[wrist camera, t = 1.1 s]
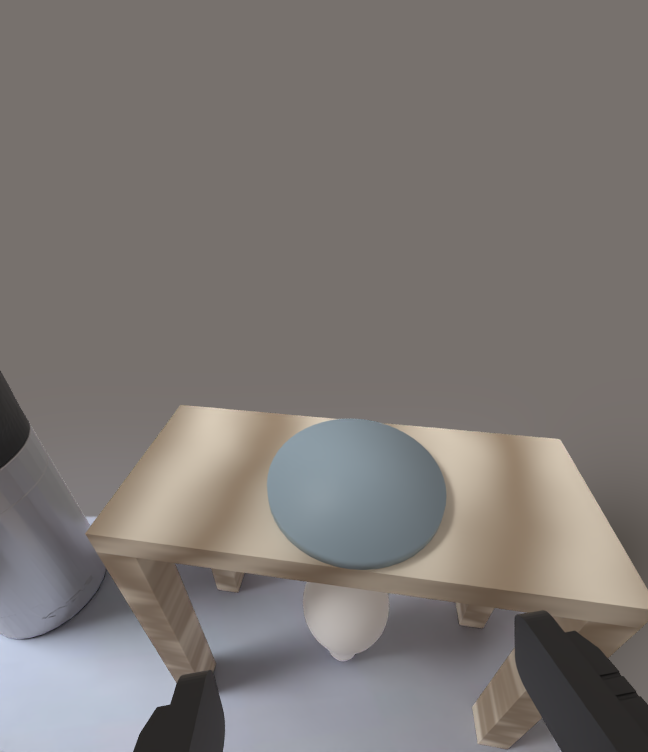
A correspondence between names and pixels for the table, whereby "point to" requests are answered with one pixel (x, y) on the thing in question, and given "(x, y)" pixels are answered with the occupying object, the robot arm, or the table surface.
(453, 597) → the stool
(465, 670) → the table surface
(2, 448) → the robot arm
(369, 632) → the lightbulb
